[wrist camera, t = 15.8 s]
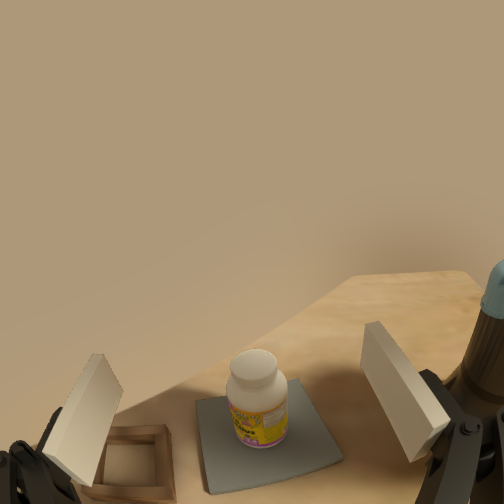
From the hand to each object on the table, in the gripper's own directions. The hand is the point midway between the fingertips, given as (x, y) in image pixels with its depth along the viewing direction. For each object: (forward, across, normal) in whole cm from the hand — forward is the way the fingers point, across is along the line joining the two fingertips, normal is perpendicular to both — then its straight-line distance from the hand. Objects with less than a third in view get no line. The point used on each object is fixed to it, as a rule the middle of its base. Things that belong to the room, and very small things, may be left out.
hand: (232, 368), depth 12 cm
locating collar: (+5, -17, -23) cm, 29 cm away
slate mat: (+11, 0, -24) cm, 26 cm away
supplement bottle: (+11, 0, -23) cm, 25 cm away
